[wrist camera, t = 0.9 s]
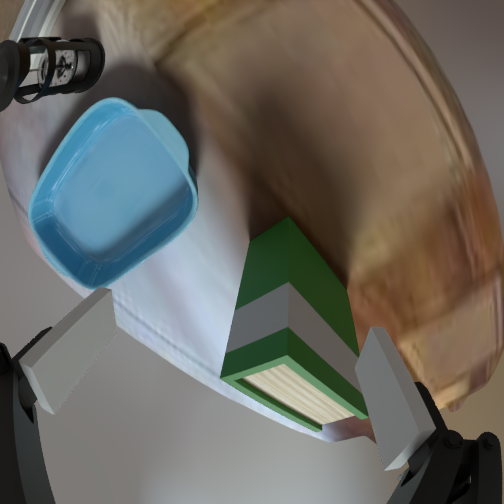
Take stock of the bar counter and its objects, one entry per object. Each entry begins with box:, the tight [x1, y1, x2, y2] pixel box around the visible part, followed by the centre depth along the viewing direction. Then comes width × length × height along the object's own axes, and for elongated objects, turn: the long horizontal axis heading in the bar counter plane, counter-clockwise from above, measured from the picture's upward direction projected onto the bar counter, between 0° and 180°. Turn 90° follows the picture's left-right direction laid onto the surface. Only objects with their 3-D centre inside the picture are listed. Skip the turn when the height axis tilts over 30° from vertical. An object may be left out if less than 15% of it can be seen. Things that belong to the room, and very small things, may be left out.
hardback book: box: [220, 216, 368, 432], centre depth 35 cm, size 18×7×24 cm, turn 40°
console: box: [9, 0, 66, 69], centre depth 19 cm, size 26×12×2 cm, turn 148°
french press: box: [0, 37, 105, 112], centre depth 19 cm, size 12×9×23 cm
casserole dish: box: [28, 97, 198, 290], centre depth 38 cm, size 37×22×7 cm, turn 126°
